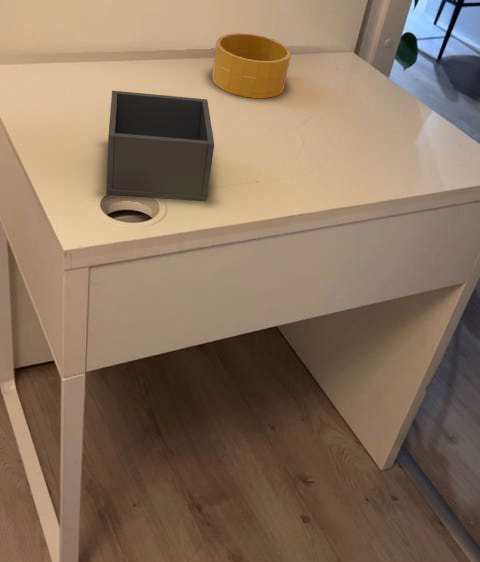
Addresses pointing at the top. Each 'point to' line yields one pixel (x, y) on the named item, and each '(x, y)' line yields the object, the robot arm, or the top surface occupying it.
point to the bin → (159, 146)
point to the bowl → (250, 65)
